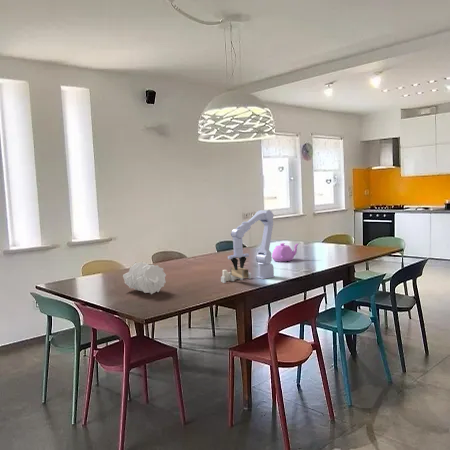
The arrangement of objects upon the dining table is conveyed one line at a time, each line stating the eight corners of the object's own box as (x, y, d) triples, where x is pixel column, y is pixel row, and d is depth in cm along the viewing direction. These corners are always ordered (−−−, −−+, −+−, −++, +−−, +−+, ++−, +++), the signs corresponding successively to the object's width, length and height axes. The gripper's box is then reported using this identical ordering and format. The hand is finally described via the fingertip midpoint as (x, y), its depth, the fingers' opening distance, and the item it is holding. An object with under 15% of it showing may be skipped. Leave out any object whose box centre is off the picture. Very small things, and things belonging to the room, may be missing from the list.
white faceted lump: (142, 294, 294) (163, 298, 275) (118, 286, 284) (138, 290, 264) (150, 266, 298) (172, 268, 279) (127, 257, 288) (148, 259, 269)
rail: (235, 274, 300) (235, 266, 300) (248, 277, 287) (248, 269, 287) (230, 275, 298) (230, 267, 298) (243, 278, 286) (243, 270, 285)
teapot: (299, 262, 355) (299, 244, 353) (271, 263, 358) (270, 245, 357) (299, 258, 376) (299, 241, 375) (272, 258, 380) (272, 241, 379)
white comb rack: (246, 276, 311) (245, 266, 310) (251, 278, 306) (250, 267, 305) (219, 281, 301) (218, 270, 300) (224, 283, 295) (223, 272, 295)
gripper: (244, 246, 299) (245, 267, 300) (224, 248, 291) (225, 270, 293) (250, 247, 293) (251, 268, 294) (230, 249, 285) (231, 271, 286)
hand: (238, 269), depth 293 cm, fingers closed on rail, 4 cm apart
